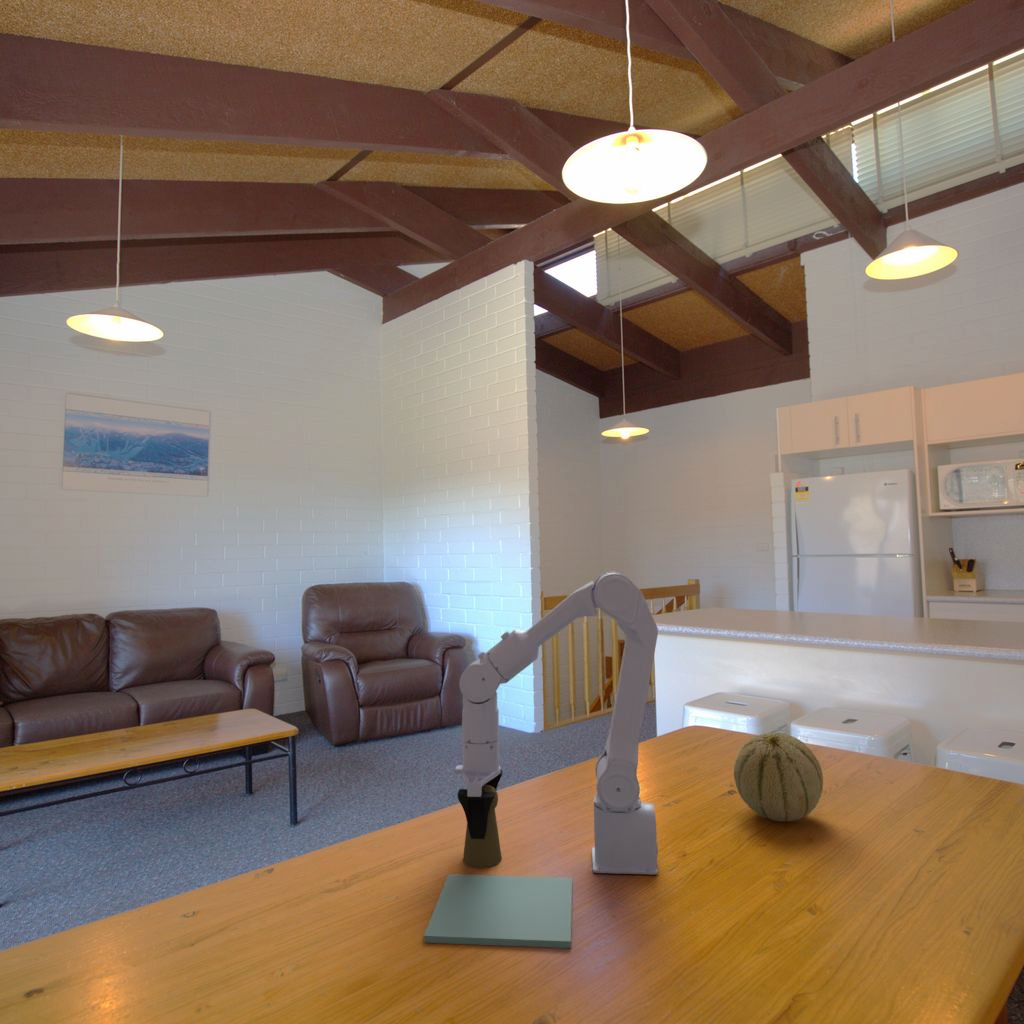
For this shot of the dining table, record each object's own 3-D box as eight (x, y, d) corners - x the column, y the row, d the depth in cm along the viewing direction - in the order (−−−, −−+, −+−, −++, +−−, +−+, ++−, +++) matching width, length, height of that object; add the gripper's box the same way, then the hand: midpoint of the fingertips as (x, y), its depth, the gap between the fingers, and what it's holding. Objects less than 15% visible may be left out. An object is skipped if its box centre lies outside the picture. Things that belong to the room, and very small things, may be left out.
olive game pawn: (497, 869, 104) (495, 795, 104) (458, 866, 105) (457, 792, 105) (505, 852, 110) (504, 781, 110) (468, 849, 111) (467, 779, 111)
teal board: (572, 883, 99) (572, 877, 99) (570, 948, 83) (570, 941, 83) (448, 879, 101) (448, 874, 101) (423, 942, 85) (423, 935, 85)
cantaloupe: (808, 803, 128) (805, 721, 129) (838, 836, 113) (834, 744, 114) (727, 801, 129) (724, 720, 130) (745, 834, 115) (742, 742, 115)
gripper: (463, 726, 116) (463, 809, 115) (446, 752, 101) (447, 847, 101) (504, 727, 115) (505, 810, 114) (494, 753, 101) (495, 848, 100)
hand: (481, 827), depth 107 cm, fingers open, 7 cm apart
